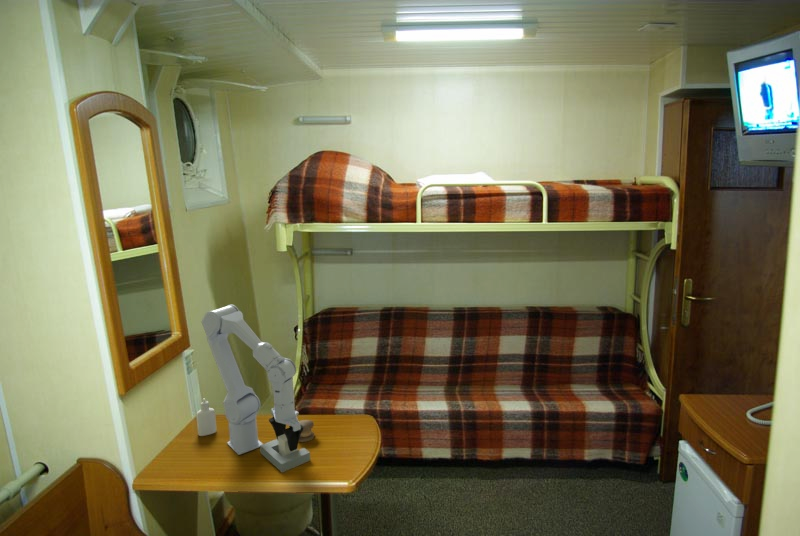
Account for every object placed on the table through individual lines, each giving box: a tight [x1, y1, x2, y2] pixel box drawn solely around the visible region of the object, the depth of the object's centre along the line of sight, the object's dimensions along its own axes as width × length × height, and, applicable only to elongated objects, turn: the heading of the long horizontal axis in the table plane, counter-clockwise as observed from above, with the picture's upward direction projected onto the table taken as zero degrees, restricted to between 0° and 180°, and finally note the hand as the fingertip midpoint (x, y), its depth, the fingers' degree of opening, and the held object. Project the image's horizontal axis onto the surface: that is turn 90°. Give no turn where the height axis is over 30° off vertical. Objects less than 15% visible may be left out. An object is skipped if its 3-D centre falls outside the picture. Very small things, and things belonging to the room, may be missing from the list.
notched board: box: [259, 438, 311, 473], centre depth 144 cm, size 14×9×2 cm, turn 40°
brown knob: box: [298, 419, 315, 443], centre depth 154 cm, size 6×6×4 cm
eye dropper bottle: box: [195, 397, 217, 437], centre depth 159 cm, size 4×6×12 cm
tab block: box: [278, 434, 299, 457], centre depth 144 cm, size 4×4×6 cm
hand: (287, 444), depth 144 cm, fingers open, 7 cm apart
